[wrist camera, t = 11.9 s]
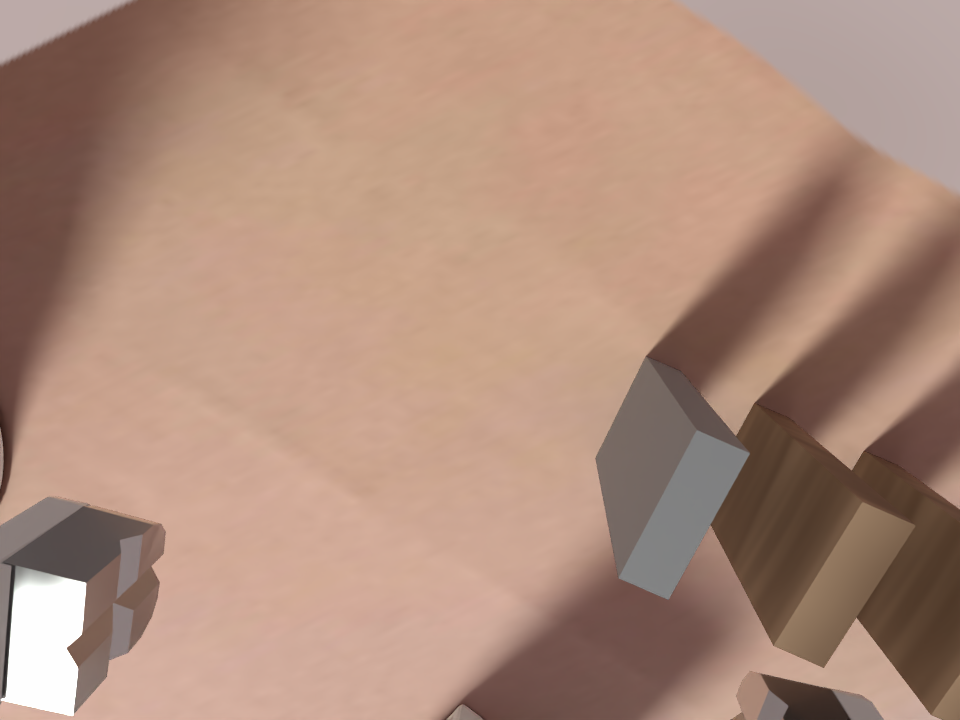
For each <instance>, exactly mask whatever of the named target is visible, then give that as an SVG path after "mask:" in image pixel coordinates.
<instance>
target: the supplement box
mask: <svg viewBox="0 0 960 720" xmlns="http://www.w3.org/2000/svg"><path fill="white" fill-rule="evenodd" d="M447 720H483V719H482V718H481V717H480V716H479V715H477V714H476V713H475V712H474V711H472V710H471V709H470V708H468V707H467V706H465V705H463V704H462V705H460V706H459V707H458V708H457V709H456V710H455V711H454V712H453V713H452V714H451V715H450V716H449V717H448V718H447Z"/></svg>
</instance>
